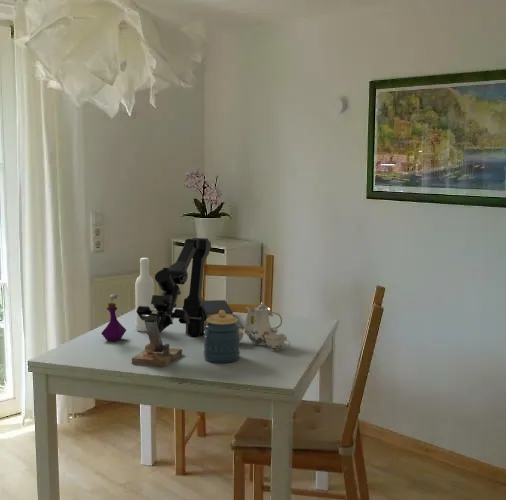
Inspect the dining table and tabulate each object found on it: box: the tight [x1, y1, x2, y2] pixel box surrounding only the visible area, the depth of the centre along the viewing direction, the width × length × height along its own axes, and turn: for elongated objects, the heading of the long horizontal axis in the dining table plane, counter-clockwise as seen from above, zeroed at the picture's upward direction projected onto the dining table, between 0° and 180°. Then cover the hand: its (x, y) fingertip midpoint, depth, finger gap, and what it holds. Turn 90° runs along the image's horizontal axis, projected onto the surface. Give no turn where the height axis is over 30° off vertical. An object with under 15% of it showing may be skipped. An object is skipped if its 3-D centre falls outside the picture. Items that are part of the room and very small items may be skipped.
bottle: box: [134, 257, 155, 333], centre depth 273 cm, size 8×8×30 cm
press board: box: [131, 342, 183, 368], centre depth 235 cm, size 16×12×7 cm
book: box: [203, 299, 234, 325], centre depth 292 cm, size 17×25×7 cm
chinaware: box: [239, 301, 291, 352], centre depth 254 cm, size 28×17×17 cm, turn 69°
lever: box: [141, 315, 164, 352], centre depth 231 cm, size 2×5×16 cm, turn 72°
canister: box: [203, 310, 241, 364], centre depth 236 cm, size 13×13×18 cm
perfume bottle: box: [100, 293, 127, 342], centre depth 258 cm, size 8×8×18 cm
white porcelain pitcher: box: [240, 305, 257, 330], centre depth 276 cm, size 8×8×10 cm
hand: (155, 335), depth 233 cm, fingers closed, pressing on lever
